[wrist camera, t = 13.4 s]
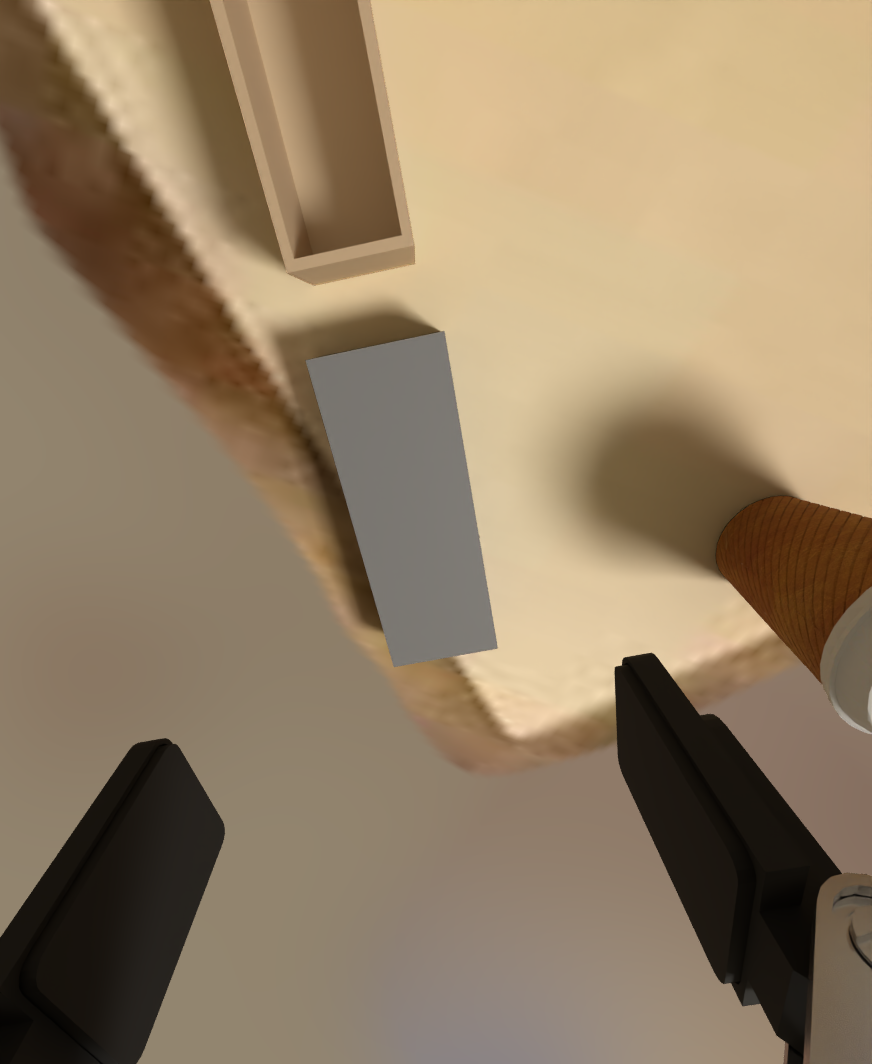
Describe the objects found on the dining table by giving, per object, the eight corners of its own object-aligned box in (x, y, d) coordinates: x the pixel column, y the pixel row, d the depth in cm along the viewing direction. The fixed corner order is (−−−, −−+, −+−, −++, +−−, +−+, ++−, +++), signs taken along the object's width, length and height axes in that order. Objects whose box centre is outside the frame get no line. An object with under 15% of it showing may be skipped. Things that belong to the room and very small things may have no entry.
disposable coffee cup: (674, 509, 28) (846, 626, 17) (836, 442, 26) (1139, 521, 15) (705, 627, 31) (862, 787, 20) (849, 574, 30) (1101, 714, 19)
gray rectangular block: (318, 357, 23) (305, 360, 21) (441, 331, 23) (444, 331, 20) (396, 637, 30) (393, 666, 28) (490, 619, 30) (497, 648, 27)
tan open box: (176, -231, 16) (78, -464, 11) (317, -269, 15) (275, -522, 11) (314, 285, 22) (286, 273, 17) (415, 263, 22) (414, 245, 17)
